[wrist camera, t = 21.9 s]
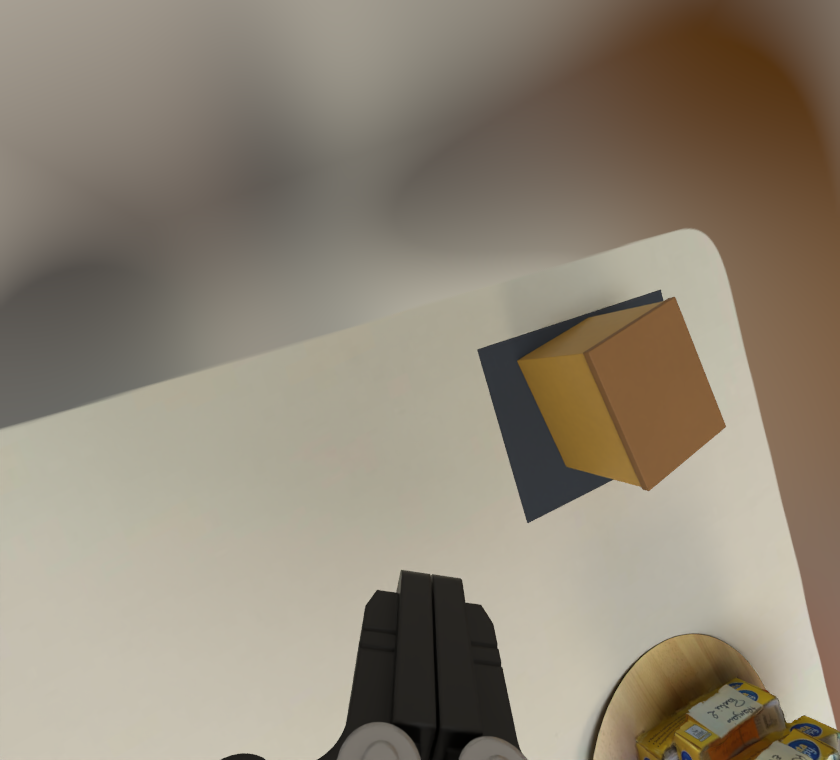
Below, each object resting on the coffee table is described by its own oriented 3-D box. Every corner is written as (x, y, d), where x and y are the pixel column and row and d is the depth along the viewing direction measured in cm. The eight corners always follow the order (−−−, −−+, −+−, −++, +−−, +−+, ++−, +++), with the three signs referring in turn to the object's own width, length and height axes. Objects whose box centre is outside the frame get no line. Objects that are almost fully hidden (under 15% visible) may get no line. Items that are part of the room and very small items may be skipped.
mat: (476, 349, 36) (477, 349, 36) (659, 290, 43) (660, 289, 43) (526, 522, 37) (527, 523, 37) (695, 437, 44) (697, 437, 44)
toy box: (565, 468, 38) (648, 491, 30) (515, 360, 37) (588, 352, 28) (632, 418, 41) (726, 426, 33) (588, 315, 40) (675, 296, 31)
